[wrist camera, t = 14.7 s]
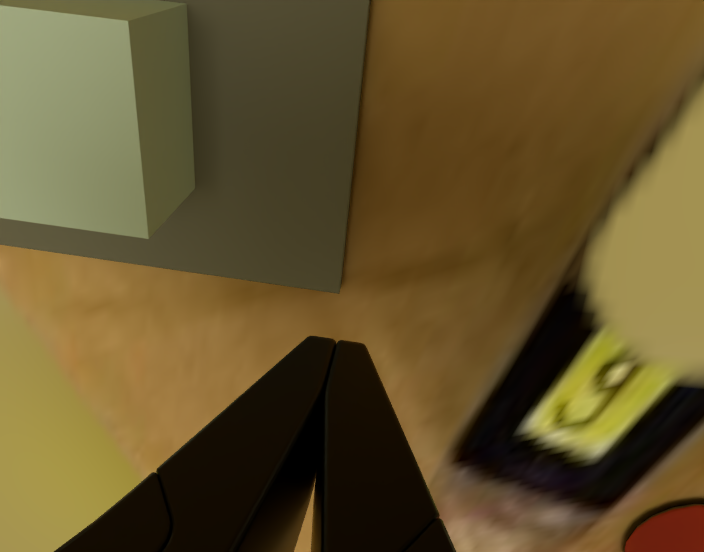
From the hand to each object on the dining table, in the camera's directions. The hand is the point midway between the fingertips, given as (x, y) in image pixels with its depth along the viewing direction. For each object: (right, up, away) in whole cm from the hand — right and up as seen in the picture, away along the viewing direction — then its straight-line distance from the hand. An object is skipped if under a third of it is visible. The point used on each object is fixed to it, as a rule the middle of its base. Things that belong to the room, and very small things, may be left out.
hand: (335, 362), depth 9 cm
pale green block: (-5, +6, +9) cm, 12 cm away
